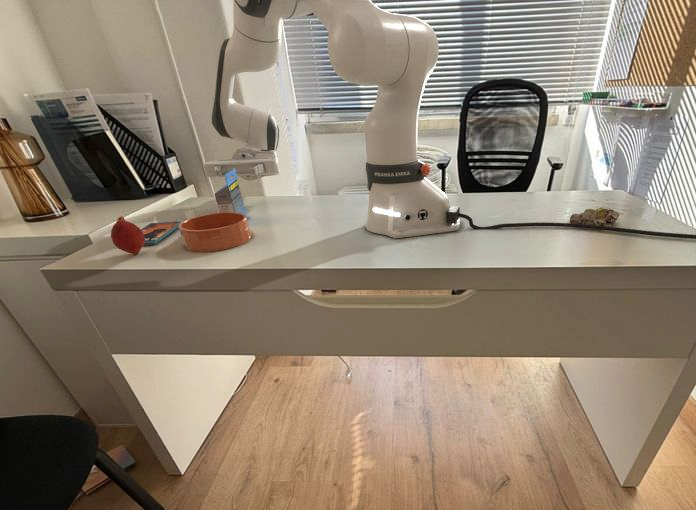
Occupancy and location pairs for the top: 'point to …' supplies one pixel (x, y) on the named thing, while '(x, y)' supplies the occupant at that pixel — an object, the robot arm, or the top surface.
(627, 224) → the top surface
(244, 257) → the top surface
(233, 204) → the grey product box
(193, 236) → the terracotta bowl
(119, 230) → the onion
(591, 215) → the mineral rock
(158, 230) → the smartphone
